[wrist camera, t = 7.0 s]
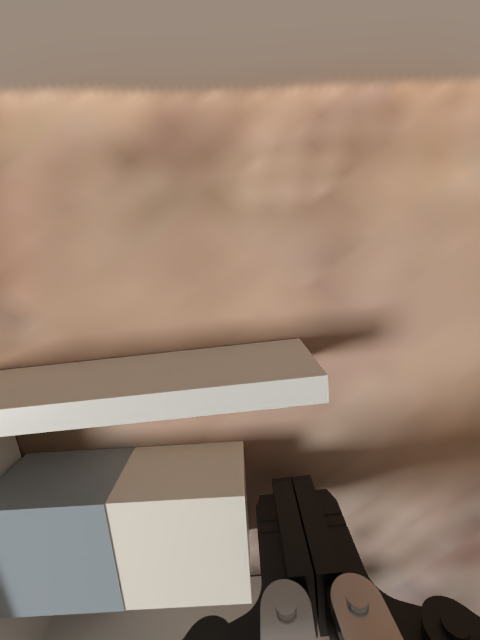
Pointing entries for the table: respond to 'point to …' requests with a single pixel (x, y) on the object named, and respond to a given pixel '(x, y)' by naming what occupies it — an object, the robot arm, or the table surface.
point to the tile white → (182, 526)
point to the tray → (144, 406)
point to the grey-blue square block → (59, 534)
